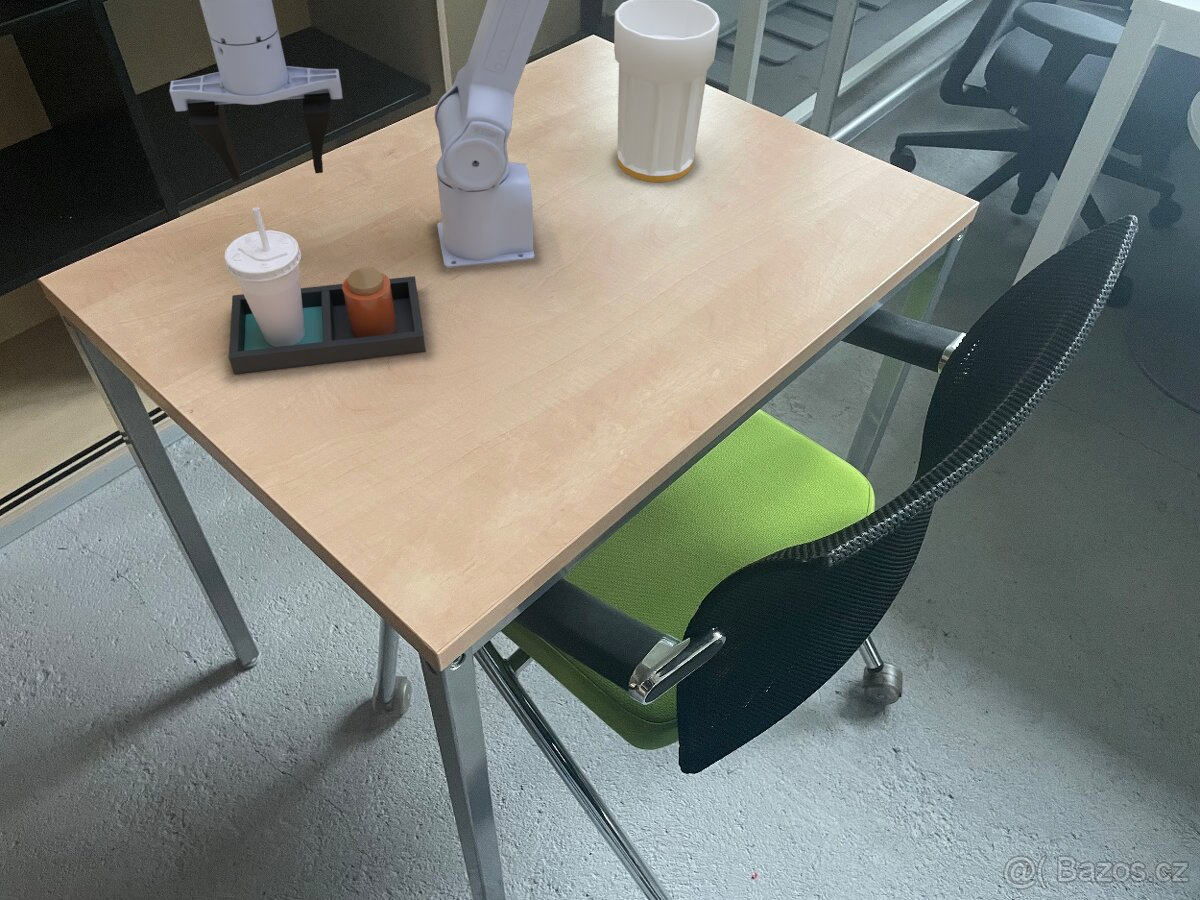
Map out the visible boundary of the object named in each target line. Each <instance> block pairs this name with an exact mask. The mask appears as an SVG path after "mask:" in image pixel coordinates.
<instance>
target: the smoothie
mask: <svg viewBox="0 0 1200 900" xmlns="http://www.w3.org/2000/svg"><path fill="white" fill-rule="evenodd" d="M252 213H253V216H254V220H255V223H256V227H257V230H256V231H252V232H248V233H246V234H243V235H241V236H239V237H237V238H235V239H234V240H232V242H231V243H229V245H228V246H227V247H226V249H225V250H224V261H225V266H226V269H227V271H228V272H229V273H230V274H231V275H232V276H233V277H234V278H235V280H236V282H237V284H238V286H239V288H240V290H241V292H242V294H244V296H245V298H246V300H247V303H248V305H249V307H250V309H251V311H252V313H253V315H254V317H255V319H256V321H257V323H258V325H259V328H260V330H261V332H262V334H263V336H264V338H265V340H266V342H267V343H268V344H270V345H272V346H274V347H282V346H290V345H295V344H296V343H298V342H299V341H301V340H302V339H303V337H304V335H305V329H304V318H303V307H302V297H301V288H302V287H301V277H300V276H301V275H300V266H299V263H300V261H301V259H302V252H301V250H300V247H299V243H298V241H297V239H296V238H295V237H293V236H292V235H291V234H289V233H286V232H283V231H280V230H274V229H273V230H271V229H266V228H265V224H264V220H263V217H262V213H261V210H260V207H259V206H254V207H252Z"/></svg>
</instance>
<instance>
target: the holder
mask: <svg viewBox="0 0 1200 900" xmlns="http://www.w3.org/2000/svg"><path fill="white" fill-rule="evenodd" d="M389 280H390V283H391V290H392V296H393V302H394V308H395V315H396V321H397V327H396V330H395V331H394V332H393V333H392V334H386V335H377V336H369V337H360V338H357V337H356V336H354V335H353V333H352V332H351V328H350V323H349V318H348V313H347V309H346V304H345V299H344V294H343V289H342V285H343V283H335V284H328V285H319V286H318V285H317V286H309V287H301V297H302V307H303V318H304V329H305V335H304V337H303V339H302V340H301V341H299V342H298V343H296V344H295V345H290V346H282V347H274V346H272V345H270V344H268V343H267V342H266V340H265V338H264V336H263V334H262V332H261V330H260V328H259V325H258V323H257V321H256V319H255V317H254V315H253V313H252V311H251V309H250V307H249V305H248V303H247V300H246V298H245V296H244V294H243V293H242V294H241V293H240V294H232V297H231V316H230V330H229V348H228V349H229V350H228V360H229V363H230V367H231V369H232V373H233V375H244V374H251V373H252V374H253V373H261V372H269V371H277V370H286V369H287V370H288V369H294V368H295V369H296V368H302V367H311V366H319V365H320V366H321V365H328V364H336V363H338V364H339V363H345V362H355V361H362V360H370V359H378V358H388V357H396V356H404V355H411V354H420V353H426V352H427V350H426V343H425V336H424V329H423V323H422V322H423V321H422V315H421V309H420V308H421V307H420V301H419V295H418V288H417V281H416V276H414V275H413V276H403V277H394V278H389Z"/></svg>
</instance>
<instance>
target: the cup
mask: <svg viewBox="0 0 1200 900" xmlns="http://www.w3.org/2000/svg"><path fill="white" fill-rule="evenodd" d="M720 24H721V22H720V18H719V14H718V12H716V10H714V9H713V8H712V7H711V6H709V5H708V3H704V2H701V1H699V0H627V1H624V2H622V3H621V4H620V5H619V6H618V7H617V9H615V10H614V28H613V29H614V36H613V39H614V40H613V52H614V60H615V61H616V62H617V63H618V90H617V91H618V93H617V94H618V96H617V101H618V102H617V107H618V108H617V155H616V158H617V165H618V167H619V169H621V171H623V173H625V174H627V175H628V176H630V177H633V178H634V179H638V180H641V181H644V182H648V183H664V182H665V183H666V182H671V181H675V180H679V179H680V178H682V177H684V176H686V175H687V174H689V173H690V171H691V169H692V168H693V166H694V160H695V159H694V158H695V155H696V154H695V153H696V147H697V140H698V134H699V127H700V121H701V115H702V108H703V101H704V94H705V88H706V81H707V76H708V75H707V74H708V71H709V69H710V68H711V66H712V65H713V63H714V62H715V57H716V50H717V44H718V38H719V31H720V26H721V25H720Z"/></svg>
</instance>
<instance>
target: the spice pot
mask: <svg viewBox="0 0 1200 900" xmlns="http://www.w3.org/2000/svg"><path fill="white" fill-rule="evenodd" d="M389 279H390V277H388V276H387V275H386V274H384V273H383V272H381V271H380V270H379V269H377V268H374V267H361V268H357V269H355V270H353V271H351V272H350V273H349V275H348V276H347V277H346V278H345V279H344V281H343V283H342V284H343V285H342V289H343V294H344V299H345V304H346V309H347V313H348V318H349V323H350V328H351V332H352V333H353V335H354V336H356V337H357V338H360V337H369V336H377V335H386V334H392V333H393V332H394V331H395V330H396V327H397V321H396V315H395V308H394V302H393V296H392V290H391V283H390V280H389Z"/></svg>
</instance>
